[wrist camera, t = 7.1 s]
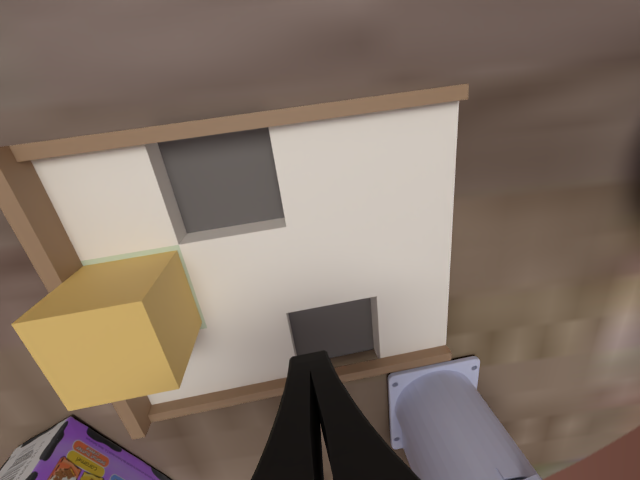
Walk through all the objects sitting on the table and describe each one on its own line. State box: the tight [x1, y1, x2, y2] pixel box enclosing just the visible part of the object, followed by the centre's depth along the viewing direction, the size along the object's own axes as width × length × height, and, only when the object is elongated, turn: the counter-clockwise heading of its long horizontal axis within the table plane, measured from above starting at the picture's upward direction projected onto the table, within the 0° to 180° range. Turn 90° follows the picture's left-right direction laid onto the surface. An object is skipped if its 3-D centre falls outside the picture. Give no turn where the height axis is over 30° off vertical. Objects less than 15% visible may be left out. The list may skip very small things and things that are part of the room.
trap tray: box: [0, 84, 469, 440], centre depth 19 cm, size 18×22×4 cm
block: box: [11, 250, 202, 411], centre depth 16 cm, size 5×5×5 cm
